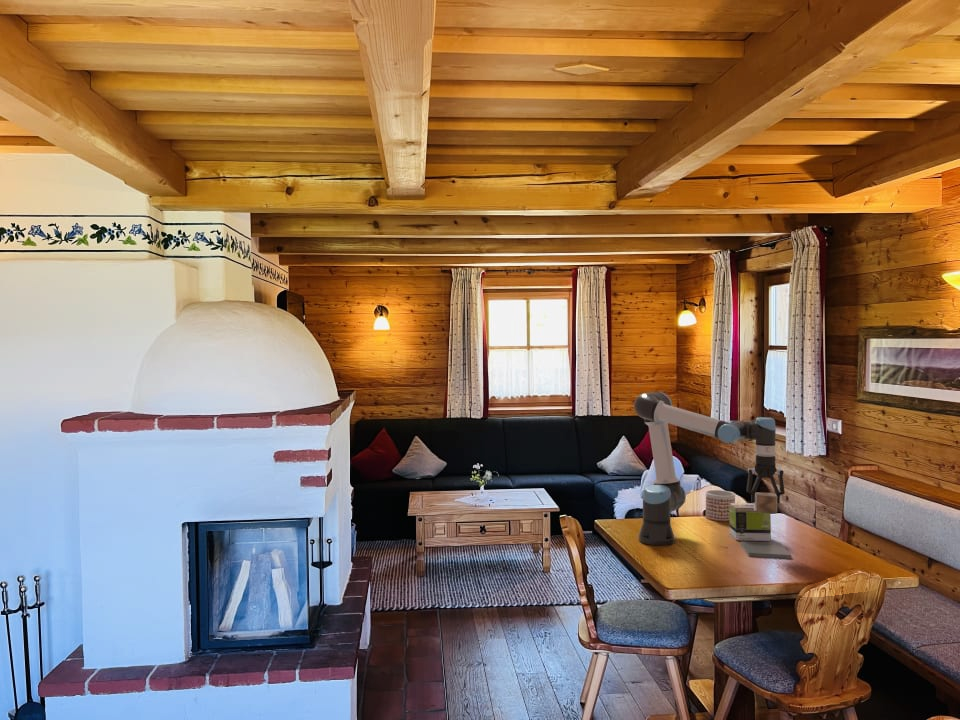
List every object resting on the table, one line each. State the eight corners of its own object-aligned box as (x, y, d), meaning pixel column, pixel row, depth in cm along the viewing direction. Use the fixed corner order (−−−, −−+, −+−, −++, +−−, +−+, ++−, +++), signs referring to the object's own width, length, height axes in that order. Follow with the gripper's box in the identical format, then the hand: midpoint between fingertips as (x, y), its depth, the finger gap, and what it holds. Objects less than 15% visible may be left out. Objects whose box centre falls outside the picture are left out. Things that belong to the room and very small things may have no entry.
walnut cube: (758, 512, 266) (758, 495, 266) (754, 509, 273) (754, 492, 273) (776, 513, 265) (776, 496, 265) (772, 509, 271) (772, 492, 271)
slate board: (748, 556, 263) (748, 552, 263) (740, 544, 278) (740, 541, 278) (791, 558, 260) (791, 555, 260) (780, 547, 275) (780, 543, 275)
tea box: (763, 535, 293) (763, 502, 293) (771, 541, 283) (771, 508, 283) (729, 534, 295) (729, 502, 295) (735, 540, 285) (735, 507, 285)
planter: (708, 521, 318) (708, 495, 318) (703, 514, 332) (703, 489, 331) (737, 522, 316) (737, 496, 316) (731, 515, 329) (731, 490, 329)
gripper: (741, 455, 267) (741, 511, 267) (793, 457, 263) (793, 513, 263) (738, 453, 274) (738, 507, 274) (788, 454, 270) (788, 509, 271)
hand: (765, 510), depth 269 cm, fingers closed on walnut cube, 7 cm apart
